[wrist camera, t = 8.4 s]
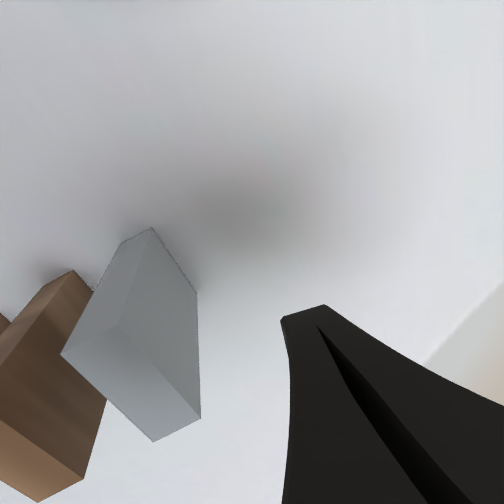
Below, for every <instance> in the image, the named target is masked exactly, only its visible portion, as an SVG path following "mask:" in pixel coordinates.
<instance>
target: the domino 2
mask: <svg viewBox="0 0 504 504" xmlns="http://www.w3.org/2000/svg"><path fill="white" fill-rule="evenodd" d="M60 355H61V356H62V357H63V358H64V359H65V360H66V361H67V362H69V363H70V364H71V365H72V366H73V367H74V368H75V369H76V370H77V371H78V372H79V373H80V374H81V375H82V376H83V377H84V378H85V379H87V380H88V381H89V382H90V383H91V384H92V385H93V386H94V387H95V388H96V389H97V390H98V391H99V392H100V393H101V394H102V395H104V396H105V397H106V398H107V399H108V400H109V401H110V402H111V403H112V404H113V405H114V406H115V407H116V408H117V409H118V410H119V411H120V412H122V413H123V414H124V415H125V416H126V417H127V418H128V419H129V420H130V421H131V422H132V423H133V424H134V425H135V426H136V427H137V428H138V429H140V430H141V431H142V432H143V433H144V434H145V435H146V436H147V437H148V438H149V439H150V440H151V441H152V442H155V441H157V440H159V439H161V438H163V437H165V436H167V435H169V434H171V433H173V432H175V431H177V430H179V429H181V428H183V427H185V426H187V425H189V424H191V423H193V422H195V421H197V420H199V419H201V405H200V376H199V346H198V316H197V293H196V291H195V290H194V289H193V287H192V286H191V284H190V283H189V281H188V280H187V278H186V277H185V275H184V274H183V272H182V271H181V269H180V268H179V267H178V265H177V264H176V262H175V261H174V259H173V258H172V256H171V255H170V253H169V252H168V250H167V249H166V248H165V246H164V245H163V243H162V242H161V240H160V239H159V237H158V236H157V234H156V233H155V231H154V230H153V229H152V227H151V228H150V229H148V230H146V231H144V232H142V233H140V234H138V235H136V236H134V237H133V238H131V239H129V240H127V241H125V242H123V243H121V244H120V246H119V248H118V249H117V251H116V253H115V255H114V257H113V258H112V260H111V262H110V264H109V266H108V268H107V269H106V271H105V273H104V275H103V277H102V279H101V280H100V282H99V284H98V286H97V288H96V290H95V291H94V293H93V295H92V297H91V299H90V301H89V302H88V304H87V306H86V308H85V310H84V311H83V313H82V315H81V317H80V319H79V321H78V322H77V324H76V326H75V328H74V330H73V332H72V333H71V335H70V337H69V339H68V341H67V343H66V344H65V346H64V348H63V350H62V352H61V354H60Z"/></svg>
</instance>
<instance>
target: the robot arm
mask: <svg viewBox="0 0 504 504" xmlns="http://www.w3.org/2000/svg"><path fill="white" fill-rule="evenodd" d="M280 322H281V327H282V331H283V335H284V340H285V344H286V349H287V353H288V357H289V369H290V421H289V438H288V450H287V461H286V470H285V479H284V488H283V496H282V504H504V406H503V405H500V404H498V403H496V402H494V401H491V400H489V399H487V398H485V397H482V396H480V395H478V394H476V393H474V392H472V391H470V390H468V389H466V388H464V387H462V386H459V385H457V384H455V383H453V382H451V381H449V380H447V379H445V378H443V377H441V376H439V375H437V374H436V373H434V372H432V371H430V370H428V369H426V368H425V367H423V366H421V365H419V364H417V363H416V362H414V361H412V360H410V359H408V358H407V357H405V356H403V355H402V354H400V353H398V352H397V351H395V350H393V349H392V348H390V347H388V346H387V345H385V344H384V343H382V342H380V341H379V340H377V339H376V338H374V337H372V336H371V335H369V334H368V333H366V332H365V331H363V330H362V329H360V328H359V327H357V326H356V325H354V324H353V323H351V322H350V321H348V320H347V319H346V318H344V317H343V316H341V315H340V314H338V313H337V312H336V311H334V310H333V309H331V308H330V307H328V306H327V305H325V304H323V305H320V306H317V307H313V308H310V309H307V310H303V311H300V312H297V313H293V314H290V315H287V316H283V318H282V319H281V320H280Z"/></svg>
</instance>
